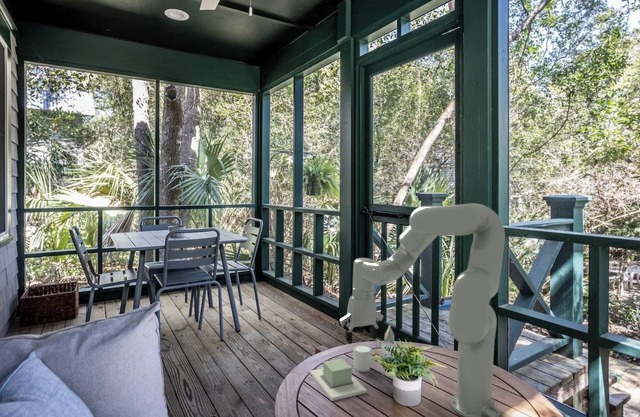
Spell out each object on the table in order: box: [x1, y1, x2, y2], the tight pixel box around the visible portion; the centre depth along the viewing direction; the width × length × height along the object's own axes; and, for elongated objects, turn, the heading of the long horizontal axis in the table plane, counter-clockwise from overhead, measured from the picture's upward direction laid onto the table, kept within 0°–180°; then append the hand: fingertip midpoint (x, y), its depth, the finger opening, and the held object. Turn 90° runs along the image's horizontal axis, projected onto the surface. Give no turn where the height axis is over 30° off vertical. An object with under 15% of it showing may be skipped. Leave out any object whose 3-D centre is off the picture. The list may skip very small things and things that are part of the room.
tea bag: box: [383, 324, 395, 345], centre depth 146 cm, size 4×7×10 cm, turn 168°
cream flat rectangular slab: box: [309, 367, 367, 402], centre depth 123 cm, size 18×12×1 cm, turn 23°
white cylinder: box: [352, 344, 373, 373], centre depth 133 cm, size 7×7×7 cm
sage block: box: [322, 358, 353, 387], centre depth 123 cm, size 7×7×5 cm
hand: (361, 340), depth 134 cm, fingers open, 9 cm apart
